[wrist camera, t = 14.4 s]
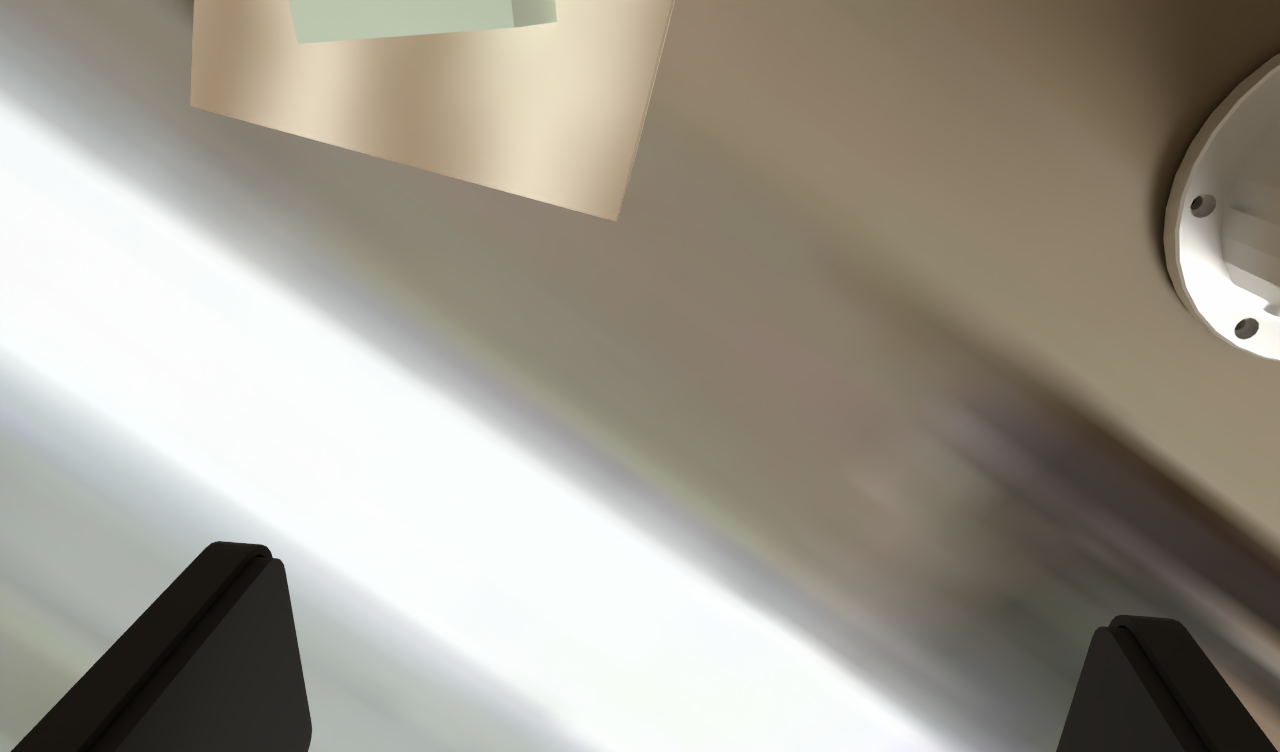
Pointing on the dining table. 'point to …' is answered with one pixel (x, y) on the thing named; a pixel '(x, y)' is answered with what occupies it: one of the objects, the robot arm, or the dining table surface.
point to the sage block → (411, 17)
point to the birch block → (452, 93)
